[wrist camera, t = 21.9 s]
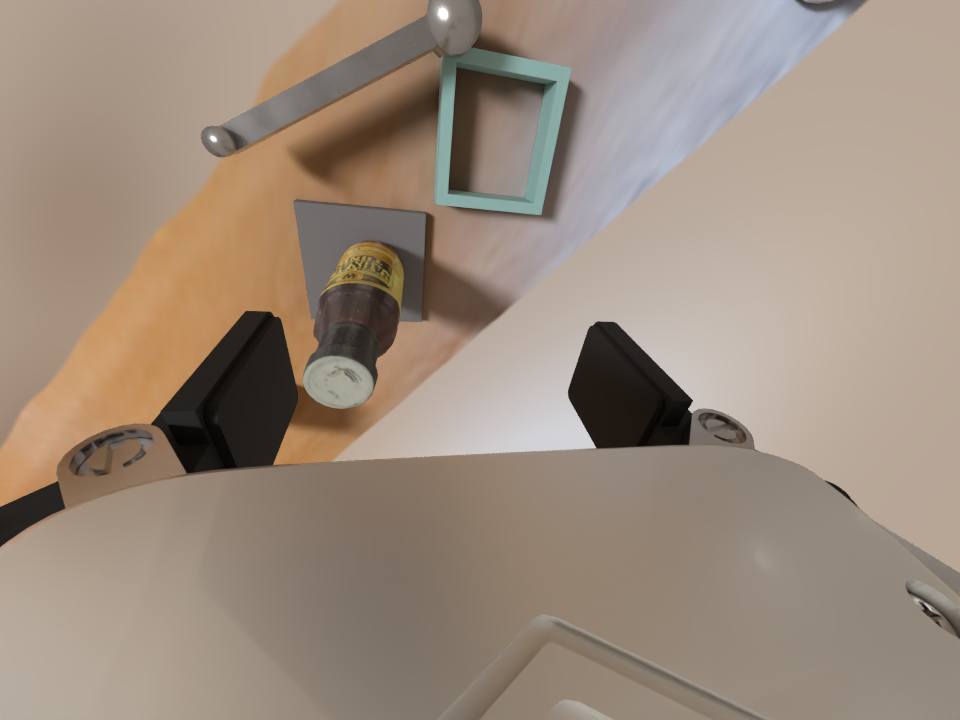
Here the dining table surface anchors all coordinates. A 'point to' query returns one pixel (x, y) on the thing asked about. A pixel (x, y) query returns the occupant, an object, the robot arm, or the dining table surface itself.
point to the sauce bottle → (355, 325)
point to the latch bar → (352, 75)
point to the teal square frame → (545, 136)
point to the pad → (345, 225)
